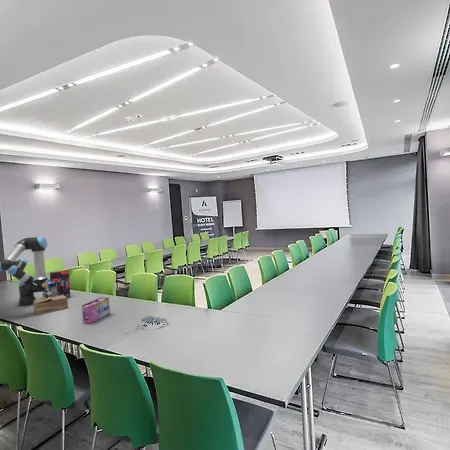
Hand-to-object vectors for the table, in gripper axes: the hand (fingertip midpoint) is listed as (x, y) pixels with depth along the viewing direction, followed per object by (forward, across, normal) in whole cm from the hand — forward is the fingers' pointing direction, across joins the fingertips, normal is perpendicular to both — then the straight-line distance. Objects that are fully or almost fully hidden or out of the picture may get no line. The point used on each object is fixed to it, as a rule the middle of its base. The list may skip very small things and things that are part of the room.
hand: (49, 293), depth 275 cm
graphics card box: (+22, -34, +2) cm, 41 cm away
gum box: (+23, +59, +2) cm, 64 cm away
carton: (+10, 0, -10) cm, 15 cm away
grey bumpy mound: (+33, +112, +12) cm, 117 cm away
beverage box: (+13, -17, -8) cm, 23 cm away
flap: (-1, 0, -7) cm, 7 cm away
